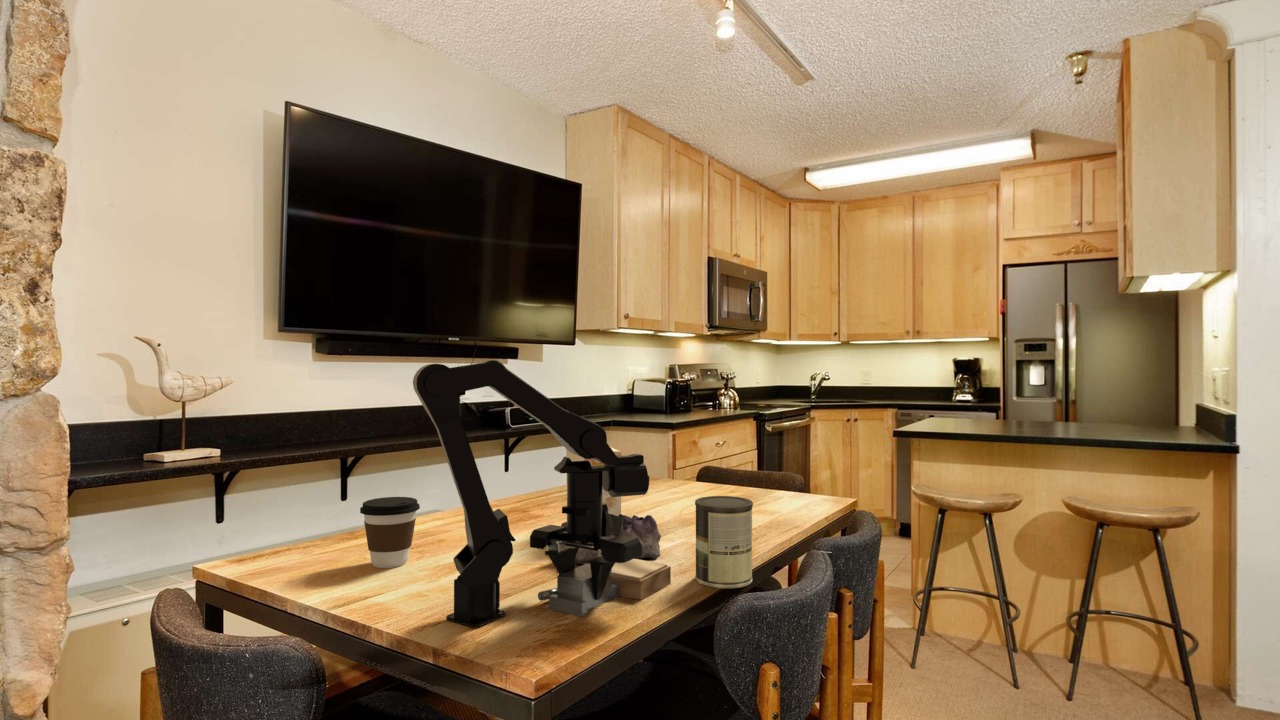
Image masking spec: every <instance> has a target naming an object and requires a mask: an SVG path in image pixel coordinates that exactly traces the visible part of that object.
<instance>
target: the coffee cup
mask: <svg viewBox="0 0 1280 720" xmlns="http://www.w3.org/2000/svg"><path fill="white" fill-rule="evenodd" d="M420 508H421V506H420V503H418V499H416V498H415V497H408V496H388V497H387V496H385V497H378V498H372V499H368V500H366V501H364V502H363V503H362V506H361V507H360V509H359V512H360V514H363V517H364V520H363V523H364V529H365V536H366V542H367V547H368V551H369V554H370V555H369V556H370V561H371V562H370V563H371V564H372V565H373V566H372V567H374V568H377V569H391V568H392V569H393V568H398V567H402V566H404V565H405V564H407V562H408V560H409V557H410V556H409V555H410V551H411V547H412V545H413V539H414V538H413V537H414V533H415V532H414V531H415V527H416V526H415V525H416V514H417V511H418V510H420Z"/></svg>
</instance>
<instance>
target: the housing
mask: <svg viewBox="0 0 1280 720" xmlns="http://www.w3.org/2000/svg"><path fill="white" fill-rule="evenodd" d="M556 578H557V580H556V583H557V584H556V585H557V586H556V588H557V595H556V594H553V595H550V596H549V599H548V610H551V611H552V610H553V611H557V612H560V613H564V614H569V615H573V616H577V617H584V616H586V615H587V613H588V612H589V611H590V610H592V609H594V608H596V607H598V606H600V605H602V604H604V603H606V602H608V601H610V600H612V599H613V600H617V599H619V598H620V595H619V585H616V584H612V569H611V571H610V574H609V576H608V579H607V582H606V585H605V588H604V590H603V593H602V596H601V598H600V599H599V600H595V597H594V592H593V584H592V575H591V566H590V564H581V566H577V567H575V569H573V570H570V571H568V572H565V573H563V574H560V575H559V574H558V575H557V577H556Z"/></svg>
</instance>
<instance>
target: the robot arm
mask: <svg viewBox="0 0 1280 720" xmlns="http://www.w3.org/2000/svg"><path fill="white" fill-rule="evenodd" d="M412 378H413V379H412V386H413V387H412V388H413V390H414V392H415V394H416V396H417V397H418V400H419V401H420V403H421V405H422V406H423V409H424V410H425V411H426V413H427V415H428V416H429V418H430V420H431V421H432V423H433V425H434V427H435V429H436V431H437V435H438V438H439V440H440V441H439V442H440V444H441V447H442V449H443V452H444V455H445V459H446V461H447V464H448V467H449V469H450V470H449V471H450V473H451V476H452V479H453V482H454V485H455V488H456V490H457V493H458V494H457V495H458V496H459V499H460V503H461V506H462V509H463V513H464V528H465V535H466V544H465V545H464V546H463V548H461V549H460V551H458V553H457V554H456V555H455V556H454V557H453V559H452V560H453V563H454V565H455V566H454V567H455V568H456V571H457V572H458V573H459V575H458V576H457V577H456V578H455V579H454V580H453V612H452V613H450V614H447V615H446V617H445V618H446V620H447V621H451V622H454V623H458V624H463V625H465V626H469V627H473V628H479V627H482V626H483V625H486V624H488V623H490V622H492V621H494V620H495V621H496V620H497V619H499V618H502V617H504V616H506V614H507V612H506V610H504V609H500V604H501V603H500V602H501V601H500V599H501V598H500V592H501V590H500V588H501V587H500V586H501V584H500V581H499V579H500V578H499V577H500V575H501V573H502V572H501V571H502V570H503V568H505V566H507V564H508V563H509V562H510V560H511V558H512V556H513V554H514V547H513V543H512V542H516V538H515V537H514V536H513V534H512V532H511V529H510V525H509V519H508V515H507V514H505V513H504V511H503V510H501V509H500V508H497V509H495V510H493V508H492V506H491V504H490V501H489V498H488V496H487V493H486V490H485V486H484V484H483V480H482V476H481V474H480V471H479V469H478V466H477V461H476V460H475V457H474V453H473V450H472V447H471V445H470V442H469V439H468V435H467V433H466V430H465V426H464V424H463V421H462V410H461V408H462V407H461V397H460V393H462V392H467V391H472V390H477V389H481V388H486V387H487V388H490V389H492V390H493V391H494V392H495V393H497V394H499V395H500V396H502V398H504V399H506V400H507V401H508V402H510V403H512V404H513V405H514V406H516V407H517V408H519V409H520V410H521V411H523V412H524V413H526V414H528V415H529V416H530V417H532V418H533V419H535V420H536V421H537V422H539V423H540V424H542V425H543V426H544V427H545V428H546V429H547V430H548V431H549V432H550V433H551V435H553V437H554V438H555V439H556V440H557V441H558V442H559V443H560V444H561V445H562V447H564V448H565V449H566V450H567V451H568V452H569V453H571V454H573V455H576V456H578V457H579V458H580V457H583V458H585V459H593V460H596V461H599V462H601V463H604V465H599V466H592V465H591V463H590V462H589V461H580V460H573V461H572V460H571V458H570V457H567V456H563V457H562V459H561V461H560V462H558V463H557V464H556V465H555V466H554V467H553V470H554V471H556V472H558V473H560V474H566V476H567V477H566V505H564V506H561V514H566V522H567V528H566V527H563V526H561V525H556V524H547V525H545V526H542V527H537V528H535V529H533V530H532V531H531V533H530V535H529V548H533V549H537V550H544V549H546V548H547V550H545V551H544V555H545V556H548V558H549V560H550V561H551V563H552V564H553V566H554V568H555V570H556V571H557V573H558V575H560V574H563V573H565V572H568V571H570V570H573V569H575V568H576V562H575V557H576V555H577V552H578V549H579V548H584V549H590V550H595V551H598V557H597V558H594V559H592V560H590V566H591V575H592V584H593V592H594V597H595V600H599V599H600V598H601V596H602V593H603V590H604V588H605V585H606V582H607V579H608V576H609V574H610V571H611V569H612V567H613V565H614V564H615V563H625V562H628V561H630V560H632V559H634V558H637V557H639V556H641V555H642V544H641V542H640V540H639V539H638V538H636V537H629V536H623V535H620V534H621V529H622V524H623V518H622V517H619V516H616V515H613V514H609V513H608V507H607V504H602V486H603V489H604V491H608V493H609V495H610V496H611V497H621V498H622V497H631V496H634V497H635V496H645V495H646V494H647V493H648V491H649V487H650V476H649V473H648V468H647V466H646V464H645V462H644V461H645V458H644V455H643V454H641V453H633V454H628V455H621V456H616V455H615V453H614V452H613V451H612V449H611V448H610V447H611V446H610V445H609V444H608V438H607V432H606V431H605V428H603V427H602V426H601V425H600V424H598V423H595V422H594V421H592V420H589V419H587V418H585V417H583V416H581V415H579V414H576V413H574V412H572V411H569V410H568V409H565V408H564V407H561V406H560V405H558V404H557V403H555V402H554V401H553V400H552V399H550V398H549V397H548V396H546V395H545V394H543V393H542V392H540V391H539V390H538V389H536V388H534V387H533V386H532V385H531V384H529V383H527V381H525V380H523V379H522V378H521V377H520V376H518V375H516V374H515V373H514V372H513V371H511V370H510V369H508V368H507V367H506V366H505V365H504V364H503V363H502V362H501V361H498V360H496V359H495V360H493V359H490V360H485V361H482V362H479V363H471V364H466V365H460V366H453V367H449V366H447V365H445V364H442V363H429V364H425V365H423V366H421V367H420V368H419V369H418V370H417V371H416V372H415V374H414V376H413V377H412ZM610 534H612V535H614V536H616V537H614V538H611V539H608V540H605V539H602V537H607V536H610ZM576 541H578V542H576ZM588 542H589V543H593V544H588Z"/></svg>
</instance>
